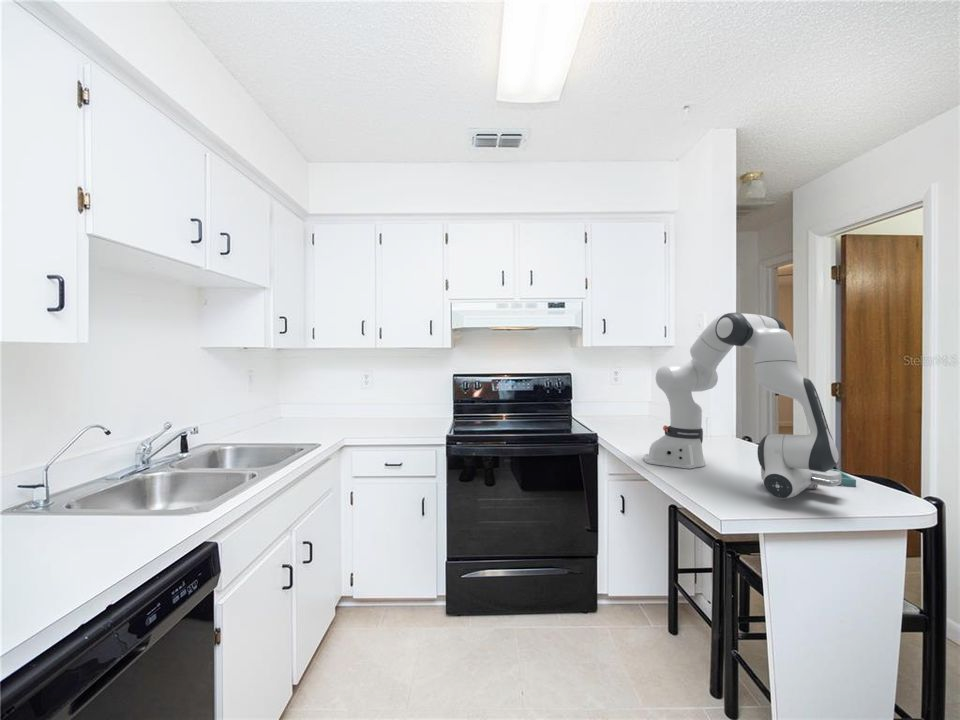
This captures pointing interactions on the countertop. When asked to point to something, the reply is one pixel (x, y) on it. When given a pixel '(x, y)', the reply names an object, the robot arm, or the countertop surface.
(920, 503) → the countertop surface
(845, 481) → the tray
